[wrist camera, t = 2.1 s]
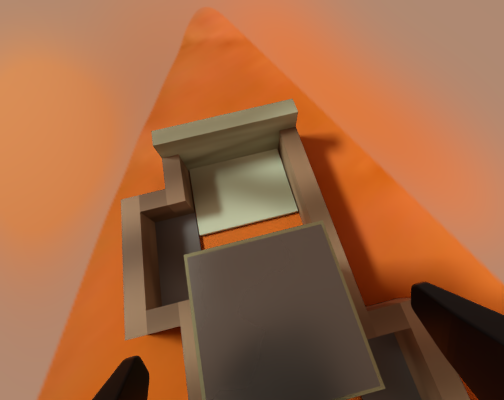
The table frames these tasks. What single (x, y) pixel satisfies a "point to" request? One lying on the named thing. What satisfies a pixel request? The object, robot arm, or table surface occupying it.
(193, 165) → the trap lane
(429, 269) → the table surface
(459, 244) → the table surface
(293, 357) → the olive tin
